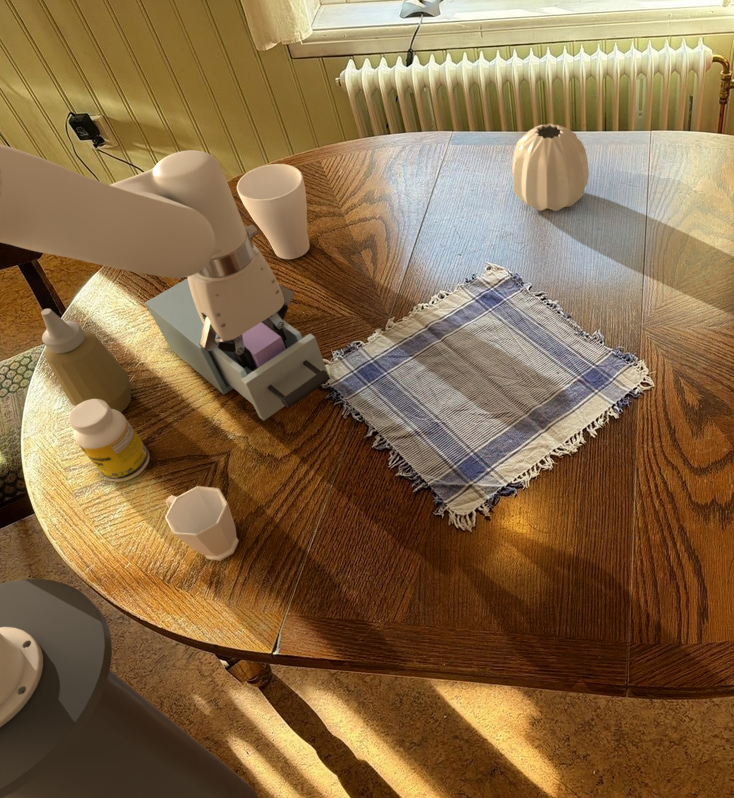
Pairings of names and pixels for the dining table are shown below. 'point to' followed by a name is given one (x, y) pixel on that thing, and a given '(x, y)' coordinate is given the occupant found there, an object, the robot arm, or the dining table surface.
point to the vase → (549, 168)
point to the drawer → (277, 374)
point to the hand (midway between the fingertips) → (264, 355)
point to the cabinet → (185, 331)
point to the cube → (262, 343)
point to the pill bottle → (108, 440)
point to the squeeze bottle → (84, 364)
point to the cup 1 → (203, 522)
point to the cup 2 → (278, 207)
